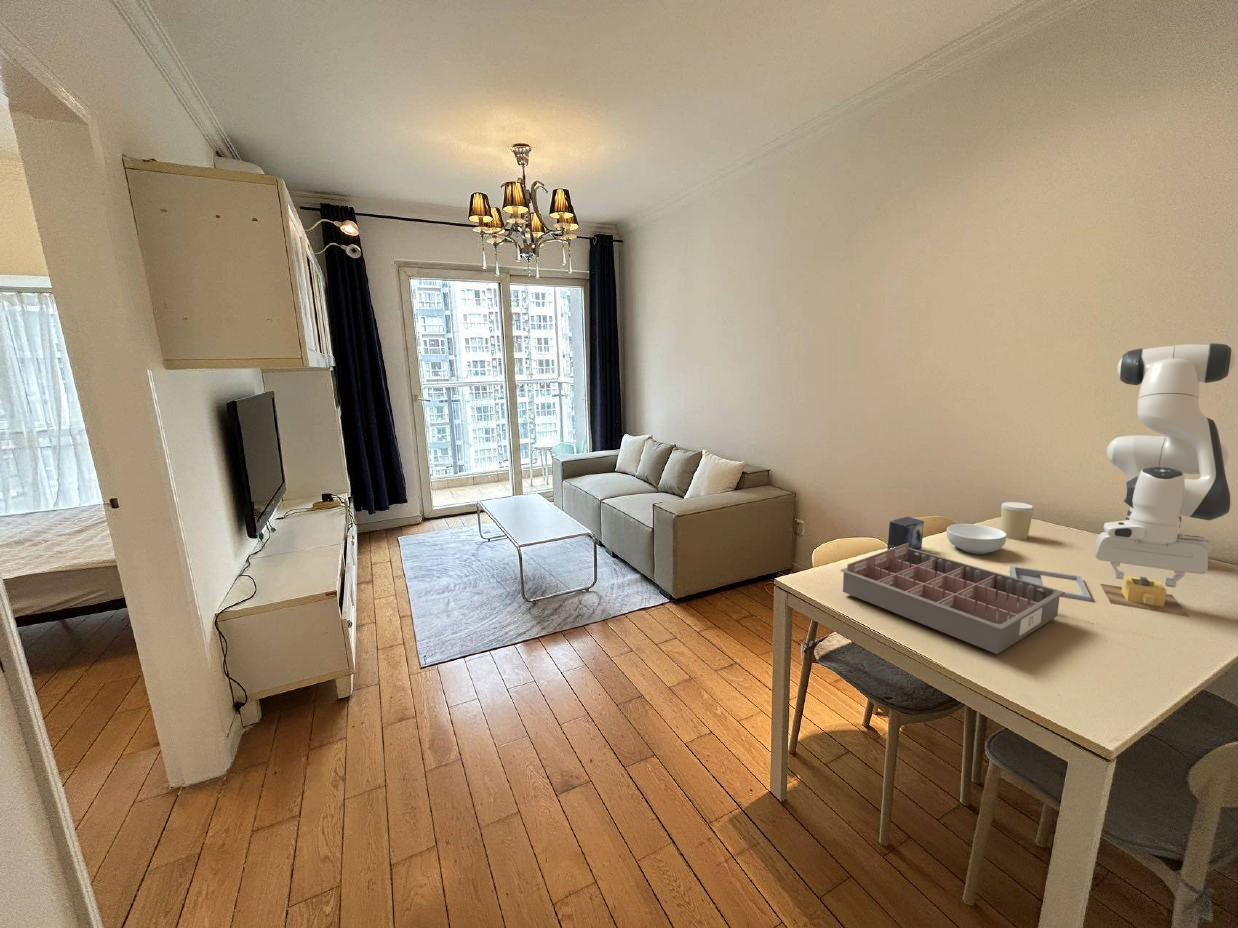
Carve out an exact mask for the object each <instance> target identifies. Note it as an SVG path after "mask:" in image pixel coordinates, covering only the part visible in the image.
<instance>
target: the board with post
mask: <svg viewBox="0 0 1238 928" xmlns="http://www.w3.org/2000/svg"><path fill="white" fill-rule="evenodd" d="M1139 578H1140V580H1141V581H1139V585H1143V586H1150V582H1149V581H1148V580H1149V579H1148V578H1147V577H1146V576H1140V577H1139ZM1099 585H1100V586H1101V589H1102V590H1103V592H1104V594H1105V596H1106V597H1107V599H1108V601H1109V602H1110V604H1111V605H1112V604H1113V605H1118V606H1122V607H1123V606H1124V607H1129V608H1135V609H1141V610H1148V611H1154V612H1158V613H1159V612H1160V613H1164V614H1169V615H1177V616H1183V617H1188V618H1190V617H1191V616H1190V614H1189V613H1188V612H1187V611H1186V610H1185V608H1184V607H1183V606H1182V605H1181V603H1179V601H1178V600H1177V599H1176V597H1175V596H1174V595H1173V594H1169V593H1166V597H1165V603H1164V607H1161V606H1155V605H1148V604H1142V603H1136V602H1130V601H1127V600H1126V598H1125V596H1124V595H1123V593H1122V592H1121V591H1122V586H1117V585H1109V584H1106V583H1105V584H1104V583H1100V584H1099Z"/></svg>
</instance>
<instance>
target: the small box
mask: <svg viewBox="0 0 1238 928" xmlns="http://www.w3.org/2000/svg"><path fill="white" fill-rule="evenodd" d="M924 523H925V521H924V520H921V519H918V518H914V517H911V516H905V517H900V518H897V519H893V520H890V521H889V525H888V526H889V527H888V540H887V548H886V549H887V550H889V549H890V548H894V547H898V546H901V545H904V544H907V543H909V548H911V549H915V550H918V551H919V550H921V549H922V546H923V534H924Z"/></svg>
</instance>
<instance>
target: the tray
mask: <svg viewBox="0 0 1238 928" xmlns="http://www.w3.org/2000/svg"><path fill="white" fill-rule="evenodd" d="M1041 575H1043V576H1047V577H1052V578H1053V577H1054V578H1061V579H1066V580H1067V579H1068V580H1073V581H1076V583H1077V585H1078V587H1079V589H1080V591H1081V594H1078V593H1074V592H1067V591H1064V592H1065V594H1063V595H1062V596H1061V597H1063V598H1068V599H1074V600H1075V599H1076V600H1080V601H1085V602H1091V601H1092V597H1091V595H1090V592H1089V590H1088V588H1087V586H1086V583H1085V582H1084V580H1083V577H1082V576H1081V575H1075V574H1068V573H1064V572H1063V573H1062V572H1055V571H1049V570H1044V569H1043V570H1042V569H1035V568H1030V567H1023V566H1017V565H1010V567H1009V576H1010V577H1014V578H1017V579H1021V580H1024V581H1028V582H1031V583H1035V584H1038V585H1042V586H1044V583H1043V580H1042V576H1041Z"/></svg>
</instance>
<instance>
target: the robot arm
mask: <svg viewBox="0 0 1238 928" xmlns="http://www.w3.org/2000/svg"><path fill="white" fill-rule="evenodd" d="M1118 361H1119V362H1118V364H1117V368H1116V369H1117V370H1116V371H1117V375H1118V377H1119V379H1120V381H1121V382H1123V383H1124V384H1126V385H1129V386H1139V385H1140V387H1139V392H1138V396H1137V405H1136V406H1137V407H1136V412H1137V413H1136V415H1137V418H1138V420H1139V421H1140V422H1141V423H1140V424H1142V425H1144V427H1146V428H1149V430H1152V431H1153V432H1157V433H1159V434H1161V436H1159V435H1146V434H1145V435H1143V434H1134V435H1133V434H1132V435H1122V436H1121V435H1120V436H1117V437H1116V438H1114V439H1113V440H1111V441H1110V442H1109V444H1108V446H1107V448H1106V456H1107V459H1108V461H1110V463H1111V464H1113V465H1114V466H1115V467H1117V468H1118V469H1119V470H1121V471H1122V473H1123V475H1125V476H1126V478H1127V479H1128V480H1127V481H1126V484H1125V485H1126V486H1125V487H1126V490H1125V491H1126V492H1125V497H1124V499H1123V502H1124V503H1125V504H1126V505H1128V506H1129V509H1128V510H1127V512H1126V515H1125V516H1126V517H1125V520H1116V521H1109V522H1108V521H1107V522H1105V523H1104V524H1103V530H1104V531H1103V532H1100V534H1099V535H1098V536H1097V539H1096V541H1095V544H1094V548H1093V556H1095V558H1096V559H1097V560H1098V561H1101V562H1110V565H1111V567H1112V569H1113V570H1114V578H1115V579H1116V580H1118V579H1119V580H1123V579H1124V576H1125V572H1124V571H1121V570H1119V569H1118V567H1120V564H1125V565H1131V566H1139V567H1145V568H1154V569H1161V570H1167V571H1173V572H1174V573H1175V574H1174V575H1173V576H1171V577H1170V578H1169V577H1166V578H1165V586H1166V587H1169V588H1170V587H1171V588H1176V586H1177V583H1178V581H1180V580H1181V579H1183V578H1184V577H1185V574H1186V573H1189V574H1195V575H1204V574H1206V573H1207V572H1208V570H1209V568H1208V567H1209V555H1210V553H1211V551H1212V548H1213V543H1212V542H1211V541H1210V540H1209V539H1207V538H1205V537H1204V536H1200V535H1199V536H1198V535H1195V536H1194V535H1188V534H1185V533H1184V532H1182V531H1181V529H1180V528H1181V526H1182V518H1183V517H1189V518H1192V519H1193V518H1194V519H1199V520H1205V521H1212V520H1216V519H1218V518H1221V517H1224V516H1225V515H1227V514H1229V512H1230V510H1231V507H1232V505H1233V504H1232V503H1233V497H1232V493H1231V490H1230V487H1229V484H1228V480H1227V476H1226V475H1227V474H1226V469H1225V466H1226V465H1227V463H1228V462H1229V455H1230V454H1229V450H1228V448H1227V447H1226V446H1225V445H1224V444H1223V443H1222V442H1221V439H1220V435H1219V429H1218V426H1217V424H1216V422H1215V421H1214V419H1211V418H1209V417H1207V416H1206V415H1204V413H1203V412H1202V411H1201V408H1200V406H1199V398H1200V397H1199V396H1200V383H1205V384H1208V383H1215V382H1219V381H1222V380H1223V379H1224V380H1225V378H1227V377H1229V376H1228V375H1229V374H1230V373H1231V372H1232V370H1233V369H1234V367H1235V366H1236V355H1235V353H1234V352H1233V350H1232V347H1230V346H1229V345H1228V344H1222V343H1209V344H1203V343H1201V344H1197V343H1191V344H1190V343H1187V344H1186V343H1183V344H1175V345H1167V346H1164V345H1163V346H1158V347H1157V346H1156V347H1149V348H1137V349H1136V348H1135V349H1132V350H1127V351H1126V352H1125V353H1124V354H1122V357H1121V358H1120V360H1118ZM1163 435H1165V436H1163ZM1185 475H1199V478H1197V479H1196V478H1194V479H1191V478H1185ZM1182 516H1183V517H1182ZM1208 554H1209V555H1208Z"/></svg>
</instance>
